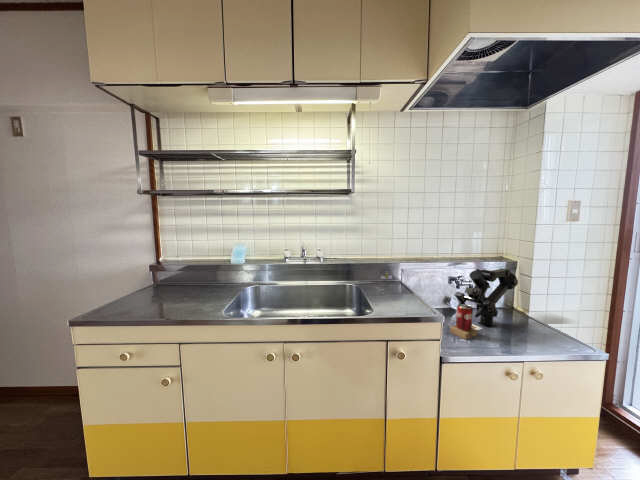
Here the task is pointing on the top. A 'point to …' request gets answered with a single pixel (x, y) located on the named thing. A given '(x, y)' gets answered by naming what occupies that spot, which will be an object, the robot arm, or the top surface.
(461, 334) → the base brick
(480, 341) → the top surface
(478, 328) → the page
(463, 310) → the soda can
